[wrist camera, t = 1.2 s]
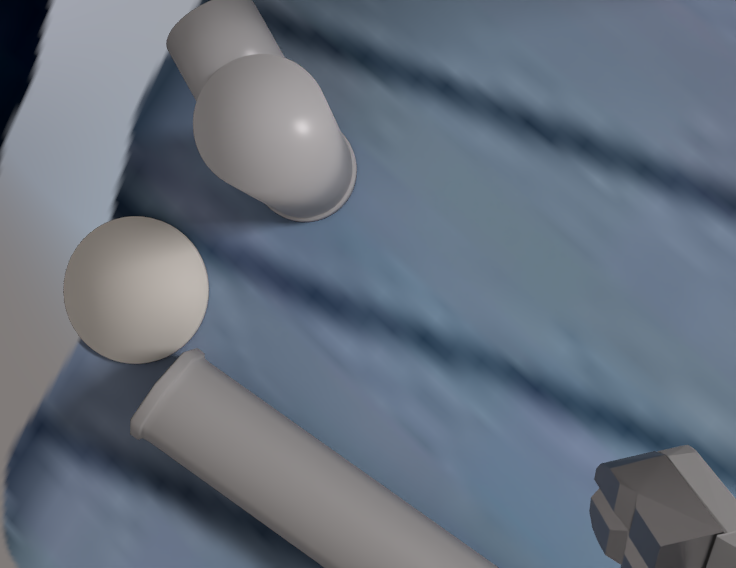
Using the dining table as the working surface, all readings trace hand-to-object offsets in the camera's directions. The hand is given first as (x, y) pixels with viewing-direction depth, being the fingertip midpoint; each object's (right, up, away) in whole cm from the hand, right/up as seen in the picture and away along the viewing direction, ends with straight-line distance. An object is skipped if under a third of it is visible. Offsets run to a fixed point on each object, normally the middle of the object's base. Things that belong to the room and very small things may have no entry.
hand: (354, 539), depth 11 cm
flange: (-12, +4, +27) cm, 30 cm away
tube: (0, -8, +26) cm, 28 cm away
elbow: (-4, +11, +26) cm, 29 cm away
